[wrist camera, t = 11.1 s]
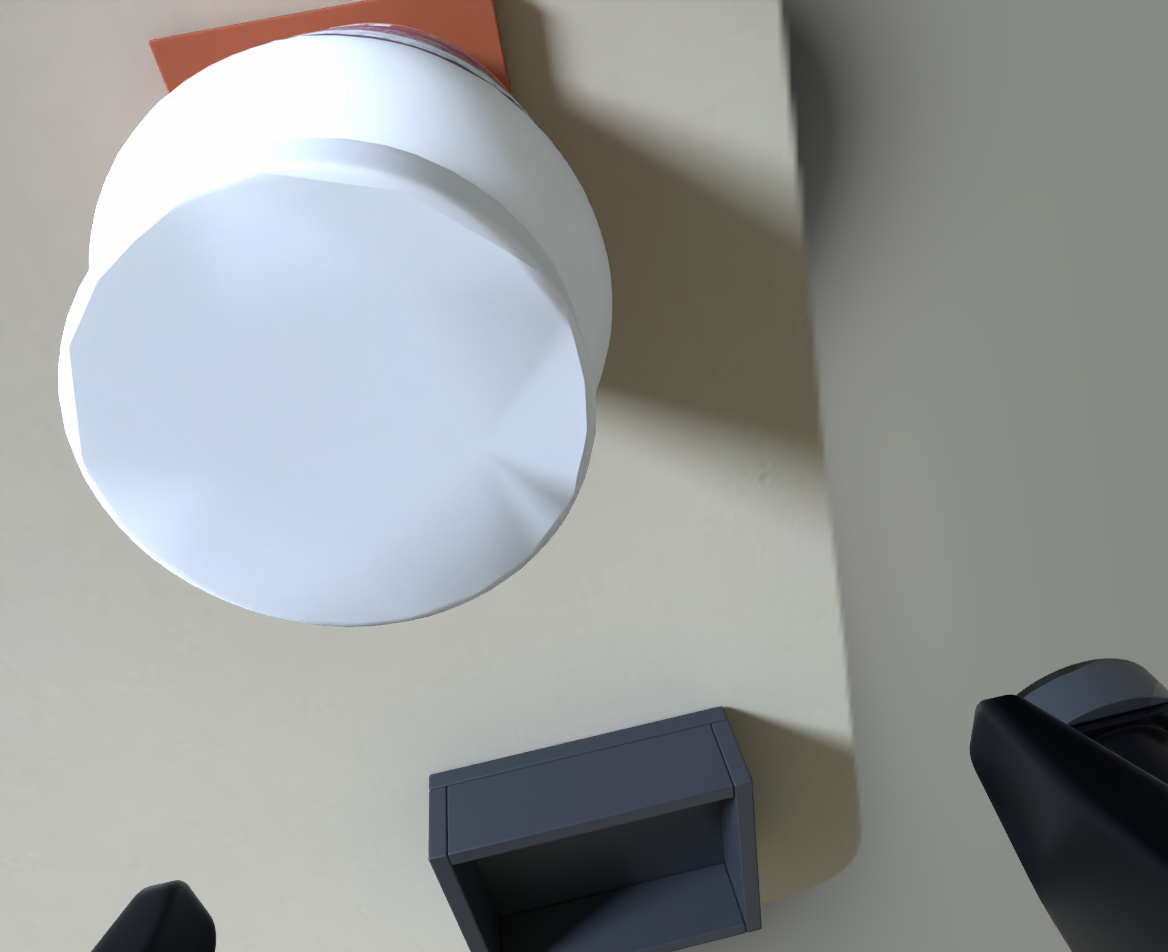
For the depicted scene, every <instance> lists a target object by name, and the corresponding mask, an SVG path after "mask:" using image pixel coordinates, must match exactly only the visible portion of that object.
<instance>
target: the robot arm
mask: <svg viewBox="0 0 1168 952" xmlns="http://www.w3.org/2000/svg"><path fill="white" fill-rule="evenodd" d="M970 756H971V760H972V763H973V766H974V768H975V771H976V773H977V775H978V777H979V779H980V781H981V783H982V785H983V787H984V789H985V791H986V793H987V795H988V797H989V799H990V801H991V803H992V805H993V807H994V809H995V811H996V813H997V815H998V817H999V819H1000V821H1001V823H1002V825H1003V827H1004V829H1005V831H1006V833H1007V835H1008V837H1009V839H1010V841H1011V843H1012V845H1013V847H1014V849H1015V851H1016V853H1017V855H1018V857H1019V859H1020V861H1021V863H1022V865H1023V867H1024V869H1025V871H1026V873H1027V875H1028V877H1029V879H1030V881H1031V883H1032V885H1033V887H1034V889H1035V891H1036V892H1037V894H1038V896H1039V898H1040V900H1041V902H1042V903H1043V905H1044V907H1045V909H1046V910H1047V912H1048V914H1049V915H1050V917H1051V919H1052V920H1053V922H1054V924H1055V925H1056V927H1057V928H1058V930H1059V931H1060V933H1061V935H1062V936H1063V938H1064V940H1065V941H1066V943H1067V944H1068V946H1069V948H1070V949H1071V951H1072V952H1168V702H1164V703H1160V704H1156V705H1152V706H1148V707H1143V708H1139V709H1135V710H1131V711H1127V712H1123V713H1119V714H1115V715H1111V716H1106V717H1102V718H1098V719H1094V720H1090V721H1086V722H1082V723H1078V724H1074V725H1070V726H1069V725H1067V724H1065V723H1064V722H1062V721H1060V720H1059V719H1057V718H1055V717H1054V716H1052V715H1050V714H1048V713H1047V712H1045V711H1043V710H1042V709H1040V708H1038V707H1037V706H1035V705H1033V704H1032V703H1030V702H1028V701H1027V700H1025V699H1023V698H1021V697H1019V696H1016V695H1004V696H1000V697H995V698H991V699H986V700H983V701H981V702H980V703H979V704H978V705H977V707H976V710H975V716H974V722H973V729H972V735H971V742H970ZM215 947H216V930H215V925H214V922H213V920H212V918H211V916H210V914H209V913H208V912H207V910H206V909H205V908H204V906H203V905H202V903H201V902H200V901H199V899H198V898H197V897H196V895H195V894H194V892H193V891H192V890H191V888H190V887H189V886H188V885H187V884H186V883H185V882H183V881H180V880H176V881H171V882H166V883H162V884H157V885H153V886H149V887H147V888H145V889H143V890H141V891H140V892H139V893H138V894H137V895H136V896H135V897H134V898H133V899H132V901H131V902H130V903H129V904H128V906H127V907H126V908H125V909H124V911H123V912H122V913H121V915H120V916H119V917H118V918H117V920H116V921H115V922H114V923H113V925H112V926H111V927H110V928H109V930H108V931H107V932H106V934H105V935H104V936H103V937H102V939H101V940H100V941H99V942H98V944H97V945H96V946H95V947H94V949H93V950H92V951H91V952H215Z"/></svg>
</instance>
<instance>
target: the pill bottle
mask: <svg viewBox="0 0 1168 952" xmlns="http://www.w3.org/2000/svg"><path fill="white" fill-rule="evenodd" d="M612 302H613V301H612V285H611V275H610V268H609V262H608V257H607V253H606V249H605V245H604V241H603V238H602V234H601V231H600V228H599V225H598V222H597V220H596V217H595V214H594V212H593V210H592V207H591V205H590V203H589V201H588V198H587V196H586V194H585V192H584V190H583V188H582V186H581V185H580V183H579V181H578V179H577V178H576V176H575V174H574V173H573V171H572V169H571V168H570V166H569V165H568V163H567V162H566V160H565V159H564V158H563V156H562V155H561V153H560V152H559V150H558V148H557V147H556V146H555V144H554V143H553V142H552V141H551V140H550V138H549V137H548V136H547V135H546V134H545V132H544V131H543V130H542V129H541V128H540V127H539V126H538V125H537V123H536V122H535V121H534V120H533V118H532V117H531V116H530V115H529V114H528V113H527V112H526V111H525V110H524V109H523V108H522V107H521V105H520V104H519V103H518V102H517V101H516V100H515V98H514V97H513V96H512V95H511V94H510V93H509V91H508V90H507V89H506V88H505V86H504V85H503V84H502V83H501V82H500V81H499V80H498V79H497V78H496V77H495V76H494V75H493V74H492V73H491V72H490V71H489V70H488V69H487V68H485V67H484V66H483V65H482V64H481V63H480V62H478V61H477V60H476V59H474V58H473V57H472V56H471V55H469V54H468V53H467V52H465V51H464V50H462V49H460V48H458V47H457V46H455V45H453V44H451V43H450V42H447V41H445V40H443V39H441V38H439V37H437V36H434V35H432V34H429V33H427V32H424V31H421V30H418V29H415V28H410V27H406V26H402V25H397V24H387V23H358V24H350V25H344V26H338V27H332V28H329V29H325V30H321V31H317V32H312V33H306V34H302V35H297V36H293V37H287V38H281V39H275V40H272V41H269V42H266V43H263V44H260V45H257V46H254V47H252V48H249V49H247V50H244V51H242V52H239V53H237V54H234V55H232V56H229V57H227V58H225V59H223V60H221V61H219V62H217V63H215V64H213V65H211V66H209V67H207V68H205V69H204V70H202V71H201V72H199V73H197V74H196V75H194V76H192V77H191V78H189V79H188V80H186V81H185V82H183V83H182V84H181V85H180V86H178V87H177V88H176V89H175V90H173V91H172V92H171V93H170V94H169V95H167V96H166V97H165V98H164V99H162V100H161V101H160V102H159V103H157V104H156V105H155V106H154V108H153V109H152V110H151V111H150V112H149V113H148V115H147V116H146V117H145V118H144V119H143V120H142V122H141V123H140V124H139V125H138V127H137V128H136V129H135V131H134V132H133V133H132V135H131V136H130V137H129V139H128V140H127V142H126V143H125V145H124V146H123V148H122V149H121V151H120V152H119V154H118V155H117V157H116V159H115V161H114V164H113V166H112V168H111V170H110V172H109V174H108V176H107V178H106V180H105V183H104V186H103V189H102V192H101V195H100V198H99V201H98V203H97V206H96V211H95V217H94V222H93V227H92V232H91V241H90V250H89V272H88V273H87V275H86V277H85V278H84V280H83V282H82V284H81V285H80V288H79V290H78V292H77V294H76V297H75V299H74V302H73V304H72V307H71V309H70V312H69V314H68V317H67V321H66V325H65V329H64V333H63V337H62V341H61V351H60V360H59V399H60V404H61V409H62V415H63V420H64V425H65V431H66V435H67V437H68V440H69V442H70V445H71V448H72V450H73V453H74V455H75V458H76V460H77V463H78V465H79V467H80V469H81V471H82V474H83V476H84V478H85V479H86V481H87V483H88V484H89V486H90V488H91V489H92V491H93V492H94V494H95V496H96V497H97V499H98V500H99V502H100V504H101V505H102V506H103V507H104V509H105V510H106V511H107V512H108V513H109V515H110V516H111V517H112V518H113V520H114V521H115V522H116V523H117V524H118V526H119V527H120V528H121V529H122V530H123V531H124V532H125V533H126V534H127V535H128V536H129V537H130V538H131V539H132V540H133V541H134V542H135V543H136V544H137V545H138V546H139V547H140V548H141V549H142V550H144V551H145V552H146V553H147V554H148V555H149V556H151V557H152V558H153V559H154V560H156V561H157V562H158V563H160V564H161V565H163V566H164V567H165V568H167V569H168V570H169V571H171V572H173V573H174V574H176V575H177V576H179V577H180V578H182V579H184V580H185V581H187V582H188V583H190V584H192V585H194V586H195V587H197V588H199V589H201V590H203V591H205V592H207V593H209V594H211V595H213V596H215V597H217V598H219V599H222V600H224V601H227V602H229V603H232V604H234V605H237V606H239V607H242V608H245V609H248V610H251V611H254V612H257V613H261V614H264V615H268V616H271V617H275V618H278V619H282V620H288V621H294V622H299V623H306V624H315V625H324V626H344V627H355V626H374V625H384V624H391V623H398V622H405V621H411V620H415V619H419V618H424V617H428V616H431V615H434V614H437V613H441V612H444V611H446V610H449V609H451V608H454V607H456V606H459V605H461V604H464V603H466V602H468V601H470V600H472V599H474V598H476V597H478V596H480V595H482V594H484V593H486V592H488V591H490V590H491V589H493V588H494V587H496V586H497V585H499V584H500V583H502V582H503V581H505V580H506V579H508V578H509V577H510V576H512V575H513V574H515V573H516V572H517V571H519V570H520V569H521V568H522V567H523V566H524V565H525V564H526V563H527V562H529V561H530V560H531V559H532V558H533V557H534V556H535V555H536V554H537V553H538V552H539V551H540V550H541V549H542V548H543V547H544V546H545V545H546V543H547V542H548V541H549V540H550V538H551V537H552V536H553V535H554V534H555V532H556V531H557V530H558V528H559V527H560V525H561V524H562V522H563V521H564V519H565V518H566V516H567V514H568V513H569V511H570V509H571V507H572V505H573V503H574V501H575V499H576V497H577V495H578V493H579V491H580V488H581V486H582V483H583V481H584V478H585V475H586V472H587V469H588V465H589V461H590V456H591V452H592V447H593V442H594V437H595V424H596V396H595V393H596V390H597V388H598V385H599V382H600V380H601V376H602V372H603V368H604V364H605V360H606V356H607V352H608V348H609V341H610V335H611V327H612Z"/></svg>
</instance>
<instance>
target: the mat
mask: <svg viewBox="0 0 1168 952" xmlns="http://www.w3.org/2000/svg"><path fill="white" fill-rule="evenodd" d="M358 23H387V24H397V25H402V26H406V27H410V28H415V29H418V30H421V31H424V32H427V33H429V34H432V35H434V36H437V37H439V38H441V39H443V40H445V41H447V42H450V43H451V44H453V45H455V46H457V47H458V48H460V49H462V50H464V51H465V52H467V53H468V54H469V55H471V56H472V57H473V58H474V59H476V60H477V61H478V62H480V63H481V64H482V65H483V66H484V67H485V68H487V69H488V70H489V71H490V72H491V73H492V74H493V75H494V76H495V77H496V78H497V79H498V80H499V81H500V82H501V83H502V84H503V85H504V86H505V88H506V89H507V90H508V91H509V93H510V94H511V90H510V85H509V80H508V74H507V69H506V64H505V58H504V53H503V48H502V42H501V37H500V31H499V26H498V21H497V15H496V10H495V5H494V0H366V1H360V2H355V3H349V4H344V5H338V6H333V7H328V8H322V9H317V10H311V11H306V12H301V13H295V14H290V15H284V16H279V17H273V18H268V19H263V20H257V21H252V22H246V23H241V24H235V25H230V26H225V27H219V28H214V29H208V30H203V31H198V32H192V33H187V34H181V35H176V36H170V37H165V38H160V39H154V40H150V41H149V45H150V47H151V50H152V52H153V55H154V57H155V60H156V62H157V65H158V67H159V70H160V72H161V75H162V77H163V80H164V82H165V85H166V87H167V90H168V92H169V94H170V93H171V92H172V91H173V90H175V89H176V88H177V87H178V86H180V85H181V84H182V83H183V82H185V81H186V80H188V79H189V78H191V77H192V76H194V75H196V74H197V73H199V72H201V71H202V70H204V69H205V68H207V67H209V66H211V65H213V64H215V63H217V62H219V61H221V60H223V59H225V58H227V57H229V56H232V55H234V54H237V53H239V52H242V51H244V50H247V49H249V48H252V47H254V46H257V45H260V44H263V43H266V42H269V41H272V40H275V39H281V38H287V37H293V36H297V35H302V34H306V33H312V32H317V31H321V30H325V29H329V28H332V27H338V26H344V25H350V24H358Z"/></svg>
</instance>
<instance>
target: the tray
mask: <svg viewBox="0 0 1168 952" xmlns="http://www.w3.org/2000/svg"><path fill="white" fill-rule="evenodd" d="M429 790H430V792H429V861H430V863H431V866H432V868H433V870H434V872H435V874H436V877H437V879H438V881H439V883H440V885H441V888H442V890H443V892H444V894H445V896H446V899H447V901H448V903H449V905H450V907H451V909H452V912H453V914H454V916H455V918H456V920H457V923H458V925H459V927H460V929H461V931H462V934H463V936H464V938H465V940H466V942H467V945H468V947H469V949H470V951H471V952H672V951H676V950H680V949H684V948H688V947H692V946H696V945H699V944H703V943H708V942H712V941H715V940H720V939H723V938H728V937H732V936H735V935H739V934H743V933H745V932H752V931H756V930H760V929H761V911H760V895H759V879H758V863H757V847H756V831H755V815H754V799H753V783H752V779H751V776H750V774H749V771H748V769H747V766H746V764H745V761H744V759H743V756H742V754H741V751H740V749H739V746H738V744H737V741H736V739H735V736H734V734H733V731H732V729H731V726H730V724H729V722H728V720H727V716H726V714H725V711H724V709H723V707H716V708H712V709H708V710H704V711H699V712H695V713H691V714H687V715H682V716H678V717H674V718H670V719H666V720H661V721H657V722H653V723H649V724H644V725H640V726H636V727H632V728H627V729H623V730H619V731H615V732H611V733H606V734H602V735H598V736H594V737H589V738H585V739H581V740H577V741H573V742H568V743H564V744H560V745H556V746H551V747H547V748H543V749H539V750H534V751H530V752H526V753H522V754H518V755H513V756H509V757H505V758H501V759H496V760H492V761H488V762H484V763H479V764H475V765H471V766H467V767H463V768H458V769H454V770H450V771H446V772H441V773H437V774H433V775H430V777H429Z"/></svg>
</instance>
